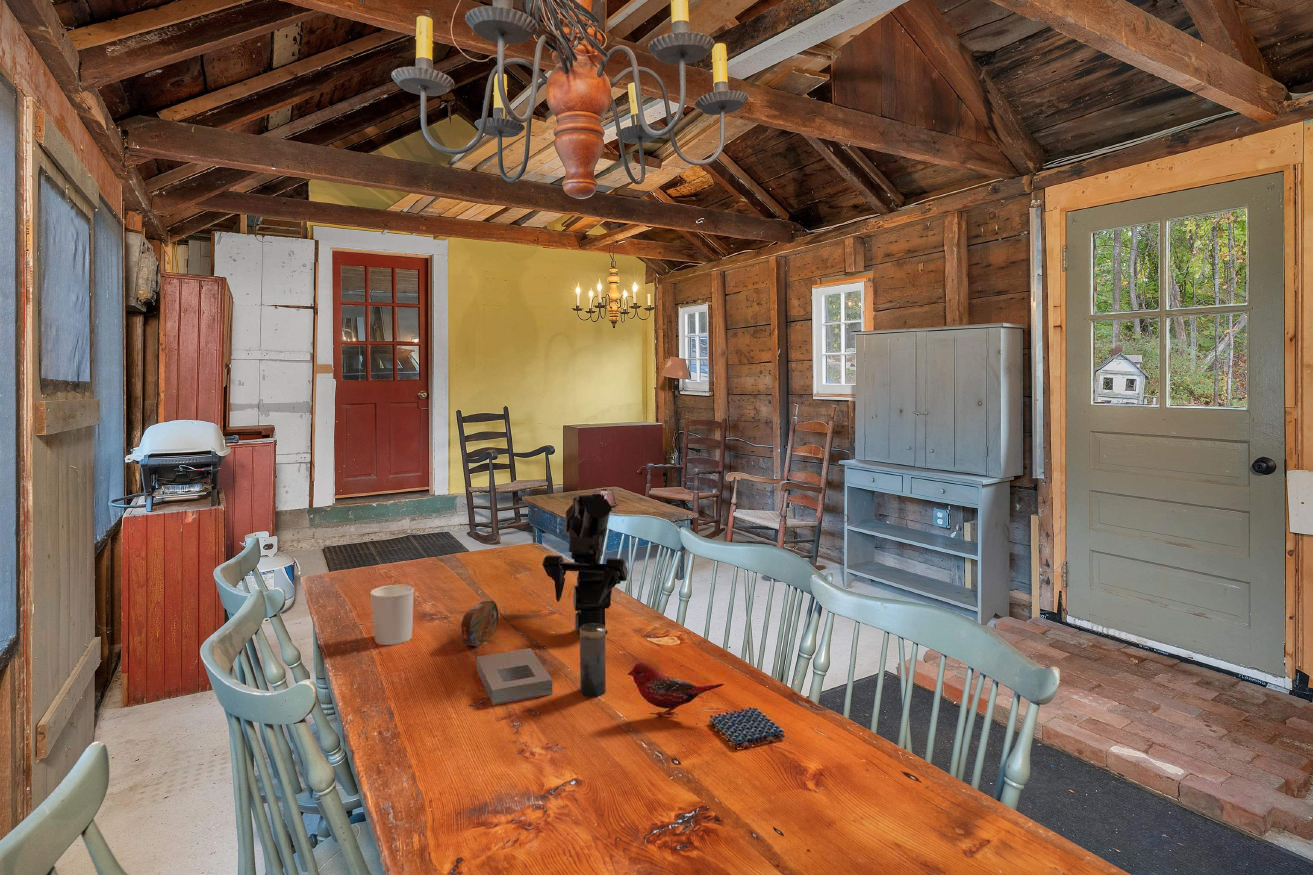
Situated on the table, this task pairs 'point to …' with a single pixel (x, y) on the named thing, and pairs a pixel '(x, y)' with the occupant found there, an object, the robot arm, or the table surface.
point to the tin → (479, 623)
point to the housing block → (513, 676)
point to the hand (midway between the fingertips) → (577, 602)
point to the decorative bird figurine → (665, 688)
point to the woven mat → (747, 728)
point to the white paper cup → (392, 613)
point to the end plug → (592, 660)
